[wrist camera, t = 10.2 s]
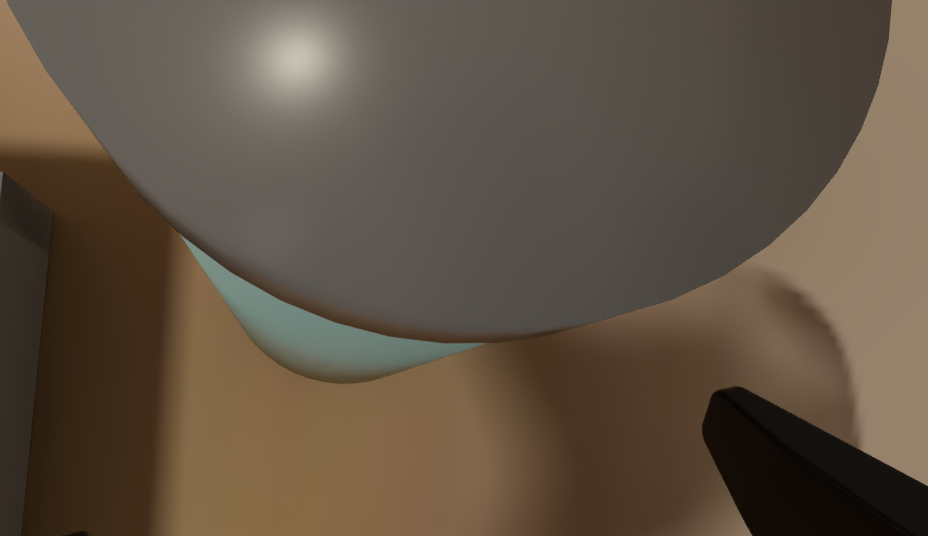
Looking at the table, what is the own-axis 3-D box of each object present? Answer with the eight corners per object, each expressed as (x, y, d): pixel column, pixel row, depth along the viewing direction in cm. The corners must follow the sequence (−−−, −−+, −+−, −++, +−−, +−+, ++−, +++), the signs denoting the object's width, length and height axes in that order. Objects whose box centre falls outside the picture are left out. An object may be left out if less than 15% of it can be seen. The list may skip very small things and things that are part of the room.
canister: (424, 418, 18) (824, 457, 4) (182, 342, 17) (-271, 88, 3) (491, 199, 19) (936, -270, 6) (273, 118, 18) (213, -668, 5)
